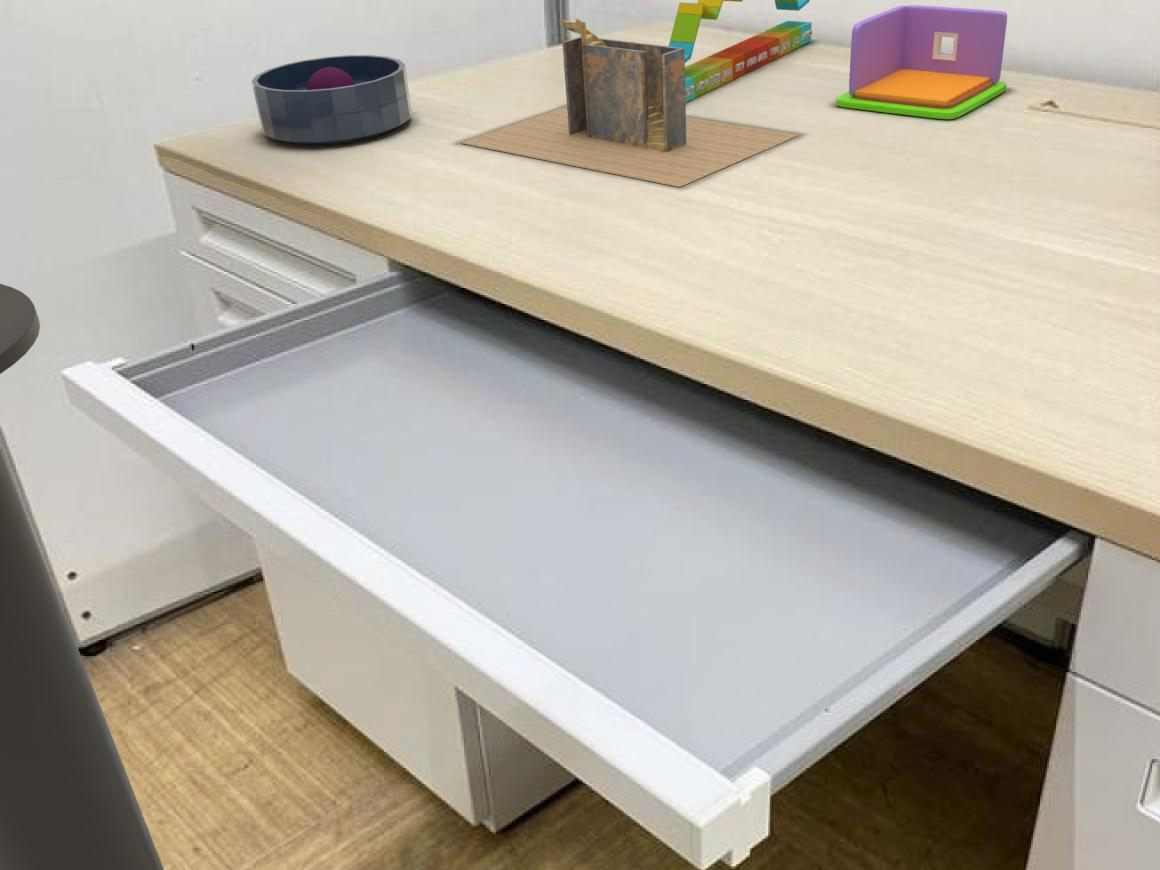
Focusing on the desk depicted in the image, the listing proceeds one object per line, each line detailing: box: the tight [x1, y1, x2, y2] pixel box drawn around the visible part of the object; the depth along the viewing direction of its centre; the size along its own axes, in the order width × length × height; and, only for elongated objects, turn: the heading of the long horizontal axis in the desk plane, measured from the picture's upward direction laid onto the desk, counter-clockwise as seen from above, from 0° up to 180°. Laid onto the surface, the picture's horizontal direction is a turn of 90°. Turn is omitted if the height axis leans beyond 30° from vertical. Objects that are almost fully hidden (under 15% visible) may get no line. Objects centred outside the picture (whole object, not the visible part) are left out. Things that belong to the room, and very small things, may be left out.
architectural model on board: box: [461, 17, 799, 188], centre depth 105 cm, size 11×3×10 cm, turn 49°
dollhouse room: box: [835, 4, 1008, 120], centre depth 111 cm, size 12×12×7 cm
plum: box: [306, 67, 356, 90], centre depth 116 cm, size 5×5×5 cm
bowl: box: [251, 54, 413, 146], centre depth 116 cm, size 14×14×5 cm
